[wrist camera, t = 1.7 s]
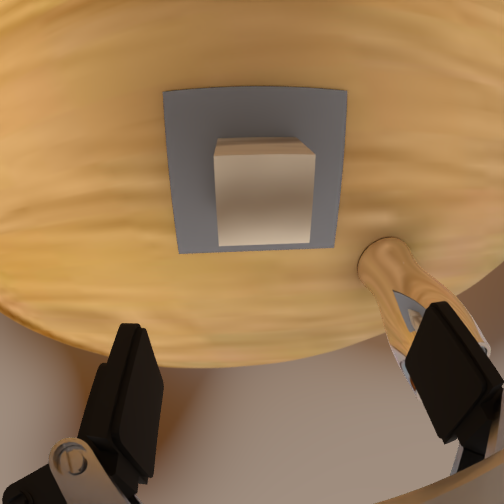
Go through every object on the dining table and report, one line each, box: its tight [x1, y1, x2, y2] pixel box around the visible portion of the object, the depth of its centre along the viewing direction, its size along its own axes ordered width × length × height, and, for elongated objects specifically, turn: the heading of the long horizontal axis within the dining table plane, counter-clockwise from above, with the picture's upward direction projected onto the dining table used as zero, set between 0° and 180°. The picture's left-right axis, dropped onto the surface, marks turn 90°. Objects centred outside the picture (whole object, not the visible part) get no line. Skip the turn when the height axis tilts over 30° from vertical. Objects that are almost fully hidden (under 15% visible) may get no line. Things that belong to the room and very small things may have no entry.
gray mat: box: [163, 86, 347, 254], centre depth 25 cm, size 14×14×1 cm
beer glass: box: [357, 237, 491, 402], centre depth 24 cm, size 7×7×15 cm
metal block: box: [214, 137, 316, 246], centre depth 22 cm, size 6×6×6 cm
